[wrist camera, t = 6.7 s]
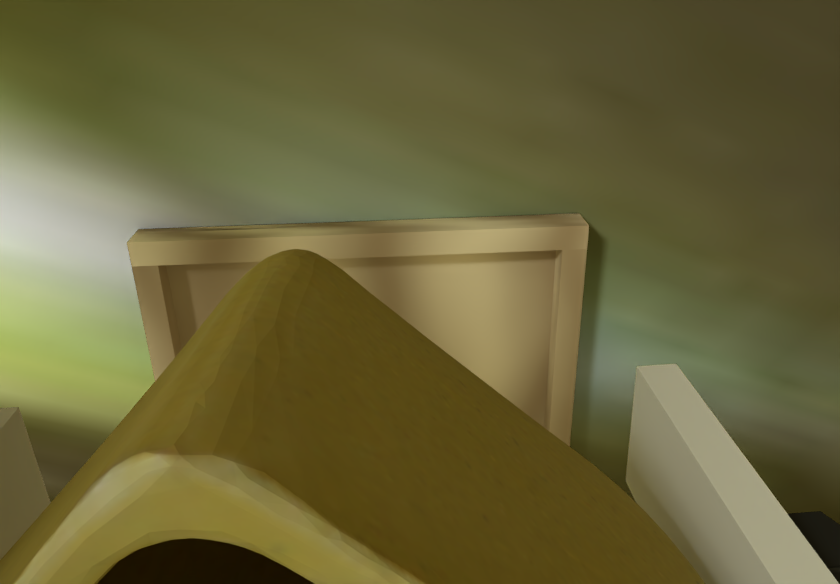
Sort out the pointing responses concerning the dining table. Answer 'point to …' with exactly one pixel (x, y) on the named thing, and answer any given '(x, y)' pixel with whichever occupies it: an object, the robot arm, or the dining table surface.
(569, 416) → the holder tray
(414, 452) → the flower pot
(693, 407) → the robot arm
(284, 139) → the dining table surface
